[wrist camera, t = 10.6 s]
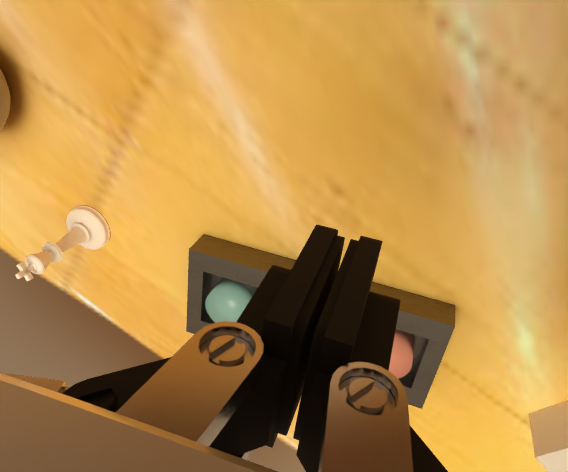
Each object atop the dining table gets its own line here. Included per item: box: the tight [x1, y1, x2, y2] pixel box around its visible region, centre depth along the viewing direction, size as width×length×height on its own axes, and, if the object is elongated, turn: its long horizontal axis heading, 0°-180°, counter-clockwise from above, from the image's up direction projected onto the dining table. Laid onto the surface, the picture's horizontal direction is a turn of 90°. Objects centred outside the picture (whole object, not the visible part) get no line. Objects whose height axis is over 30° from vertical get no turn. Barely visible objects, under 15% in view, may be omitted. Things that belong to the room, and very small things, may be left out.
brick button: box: [389, 329, 415, 379], centre depth 44 cm, size 5×5×3 cm
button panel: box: [187, 234, 455, 409], centre depth 46 cm, size 24×10×3 cm, turn 83°
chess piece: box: [15, 206, 110, 281], centre depth 47 cm, size 5×5×10 cm
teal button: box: [205, 278, 257, 323], centre depth 47 cm, size 5×5×3 cm
